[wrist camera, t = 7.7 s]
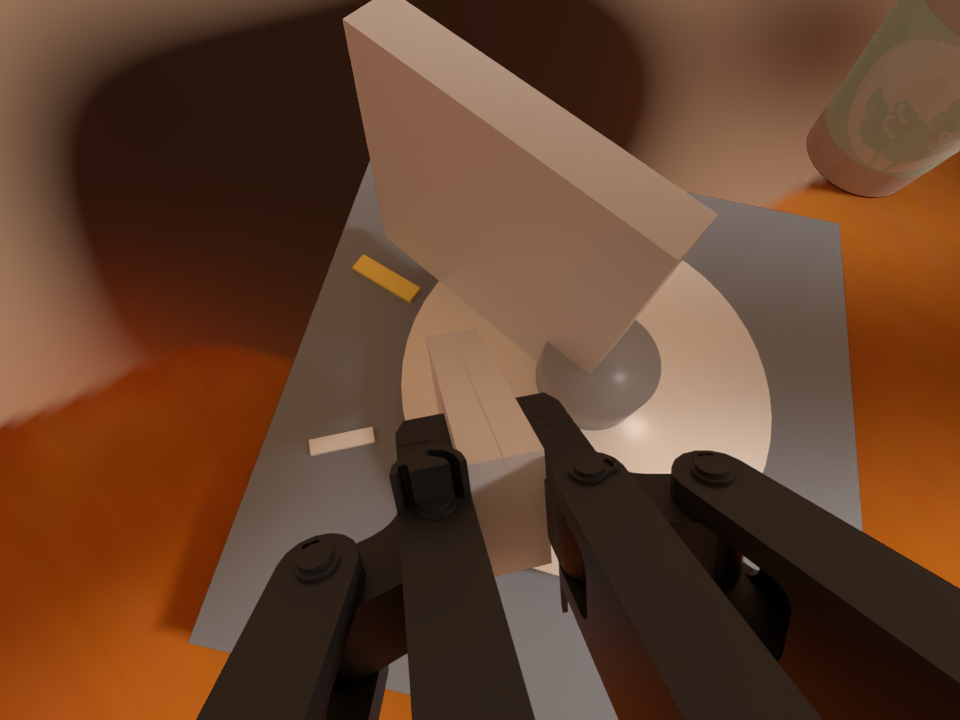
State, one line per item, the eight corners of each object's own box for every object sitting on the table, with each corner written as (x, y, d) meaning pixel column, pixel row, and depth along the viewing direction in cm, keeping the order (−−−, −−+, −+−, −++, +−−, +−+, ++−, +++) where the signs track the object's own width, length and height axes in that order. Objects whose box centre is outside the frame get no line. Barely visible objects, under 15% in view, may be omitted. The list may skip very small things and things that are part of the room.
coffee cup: (752, 150, 28) (954, -120, 17) (830, 79, 30) (1052, -197, 19) (886, 247, 26) (1215, 15, 15) (958, 162, 29) (1285, -90, 17)
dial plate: (818, 241, 26) (842, 221, 24) (848, 784, 17) (888, 807, 16) (385, 151, 26) (381, 125, 25) (208, 636, 18) (184, 643, 16)
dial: (809, 381, 21) (1121, 230, 11) (617, 673, 17) (853, 836, 7) (504, 158, 24) (540, -106, 15) (278, 351, 20) (119, 159, 10)
